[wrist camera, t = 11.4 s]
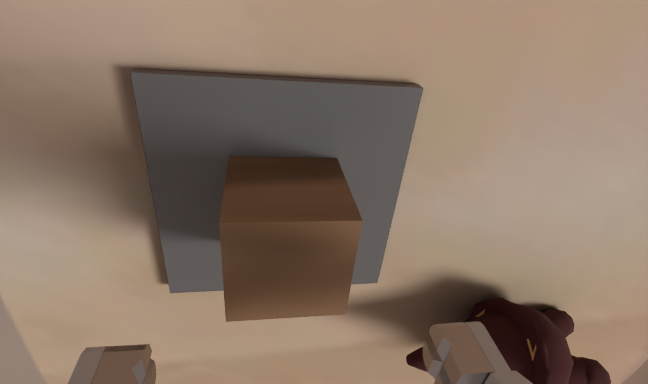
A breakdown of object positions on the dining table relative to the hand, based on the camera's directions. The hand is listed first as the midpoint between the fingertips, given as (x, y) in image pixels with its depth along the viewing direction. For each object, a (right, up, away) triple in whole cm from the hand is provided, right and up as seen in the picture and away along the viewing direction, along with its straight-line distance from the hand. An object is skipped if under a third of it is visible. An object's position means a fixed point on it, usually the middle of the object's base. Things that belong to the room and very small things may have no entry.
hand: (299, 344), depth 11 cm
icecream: (+12, -4, +16) cm, 21 cm away
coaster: (-1, +4, +8) cm, 9 cm away
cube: (-1, +4, +7) cm, 9 cm away
